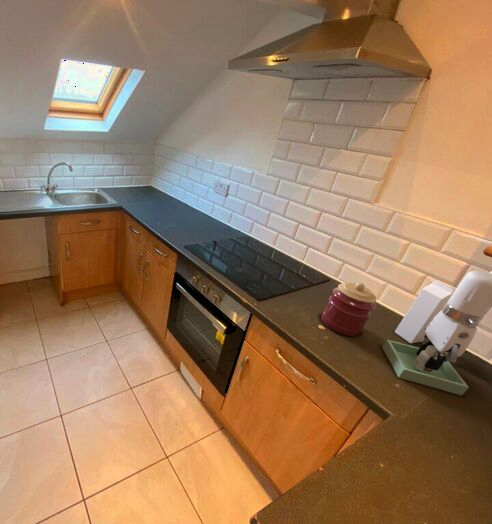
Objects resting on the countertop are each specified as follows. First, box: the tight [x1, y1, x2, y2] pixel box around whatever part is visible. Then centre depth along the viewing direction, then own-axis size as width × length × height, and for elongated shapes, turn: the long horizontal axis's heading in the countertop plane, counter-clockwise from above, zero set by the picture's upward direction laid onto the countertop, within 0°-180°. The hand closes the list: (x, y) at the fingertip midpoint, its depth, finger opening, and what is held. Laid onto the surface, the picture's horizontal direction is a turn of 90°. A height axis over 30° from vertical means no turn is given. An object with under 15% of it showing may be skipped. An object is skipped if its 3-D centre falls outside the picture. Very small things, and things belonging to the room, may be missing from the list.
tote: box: [381, 339, 470, 396], centre depth 91 cm, size 16×14×3 cm
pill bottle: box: [413, 345, 443, 373], centre depth 90 cm, size 4×4×8 cm
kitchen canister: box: [320, 282, 377, 337], centre depth 104 cm, size 13×13×18 cm
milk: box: [394, 279, 455, 344], centre depth 101 cm, size 6×6×22 cm
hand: (426, 361), depth 90 cm, fingers closed on pill bottle, 4 cm apart
